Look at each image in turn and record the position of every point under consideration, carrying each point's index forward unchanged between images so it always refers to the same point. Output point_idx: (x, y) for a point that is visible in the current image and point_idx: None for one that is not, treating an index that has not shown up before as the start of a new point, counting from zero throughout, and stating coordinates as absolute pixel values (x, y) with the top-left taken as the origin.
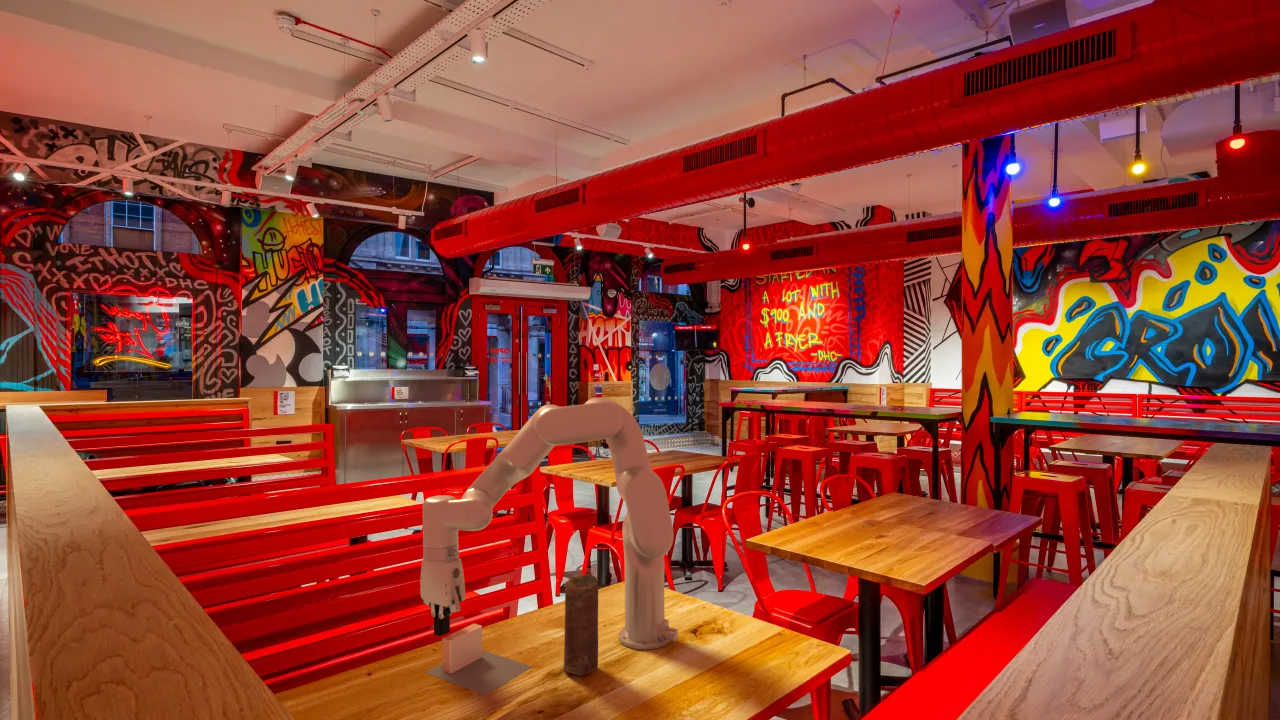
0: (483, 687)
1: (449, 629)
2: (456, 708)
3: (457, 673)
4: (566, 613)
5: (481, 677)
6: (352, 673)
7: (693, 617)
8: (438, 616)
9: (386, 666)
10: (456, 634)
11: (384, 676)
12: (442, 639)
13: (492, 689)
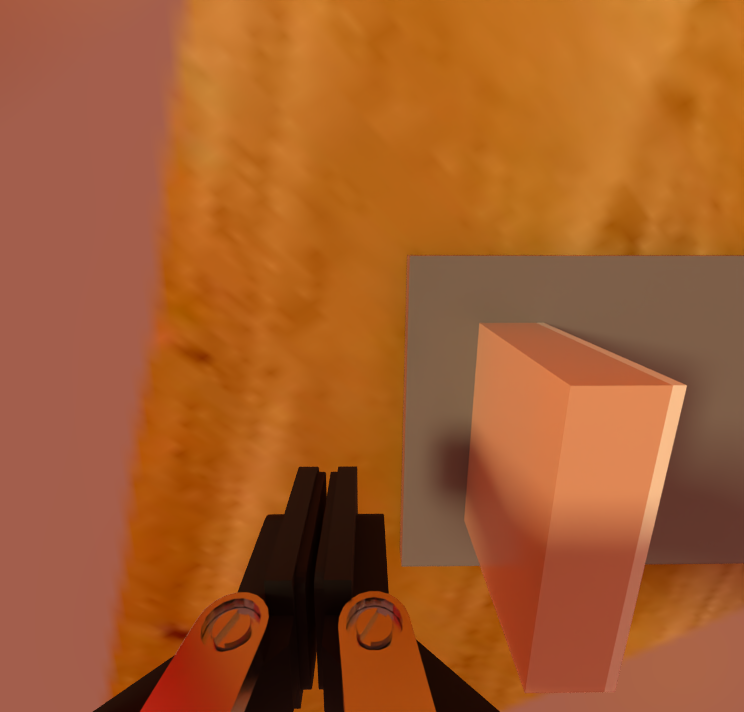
0: (741, 528)
1: (355, 475)
2: (687, 627)
3: None
4: None
5: (679, 475)
6: (124, 662)
7: None
8: (296, 676)
9: (175, 572)
10: (581, 611)
11: None
12: (521, 682)
13: None
